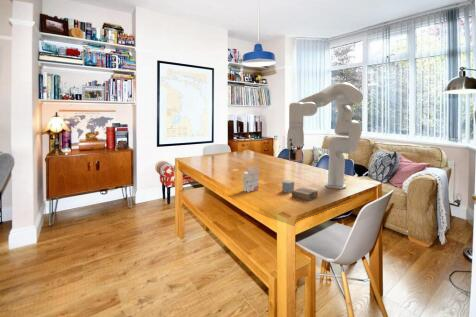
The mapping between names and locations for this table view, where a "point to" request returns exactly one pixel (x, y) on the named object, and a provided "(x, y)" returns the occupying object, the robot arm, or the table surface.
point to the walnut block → (304, 194)
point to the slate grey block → (287, 186)
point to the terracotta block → (297, 155)
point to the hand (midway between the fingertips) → (295, 158)
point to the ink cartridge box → (250, 179)
